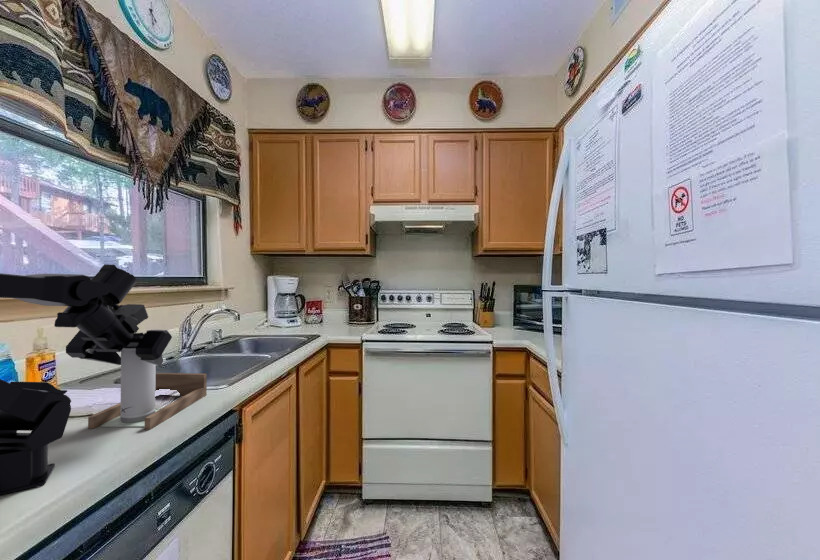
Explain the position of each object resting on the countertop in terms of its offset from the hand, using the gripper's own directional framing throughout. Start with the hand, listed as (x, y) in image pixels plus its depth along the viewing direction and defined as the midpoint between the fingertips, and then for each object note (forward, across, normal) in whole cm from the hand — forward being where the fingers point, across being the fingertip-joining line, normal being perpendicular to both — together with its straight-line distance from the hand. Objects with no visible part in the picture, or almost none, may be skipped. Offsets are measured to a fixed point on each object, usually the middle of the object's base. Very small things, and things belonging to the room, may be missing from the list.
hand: (141, 363), depth 79 cm
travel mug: (+8, 0, +10) cm, 13 cm away
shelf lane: (+12, 0, +6) cm, 13 cm away
